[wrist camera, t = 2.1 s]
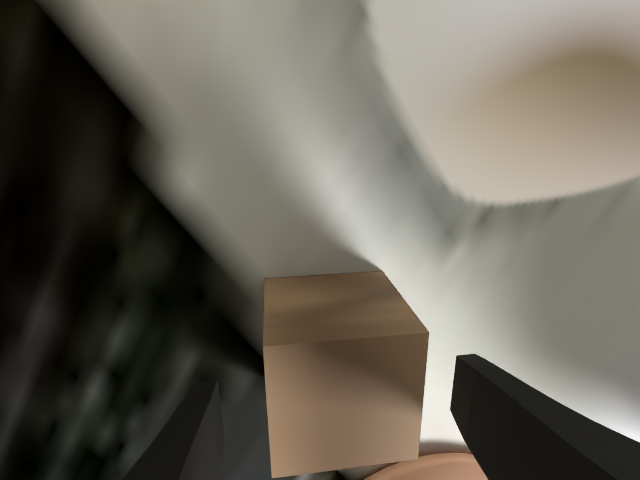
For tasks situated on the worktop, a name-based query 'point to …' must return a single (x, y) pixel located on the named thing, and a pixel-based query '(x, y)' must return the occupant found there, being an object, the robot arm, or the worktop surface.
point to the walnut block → (341, 372)
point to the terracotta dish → (433, 468)
